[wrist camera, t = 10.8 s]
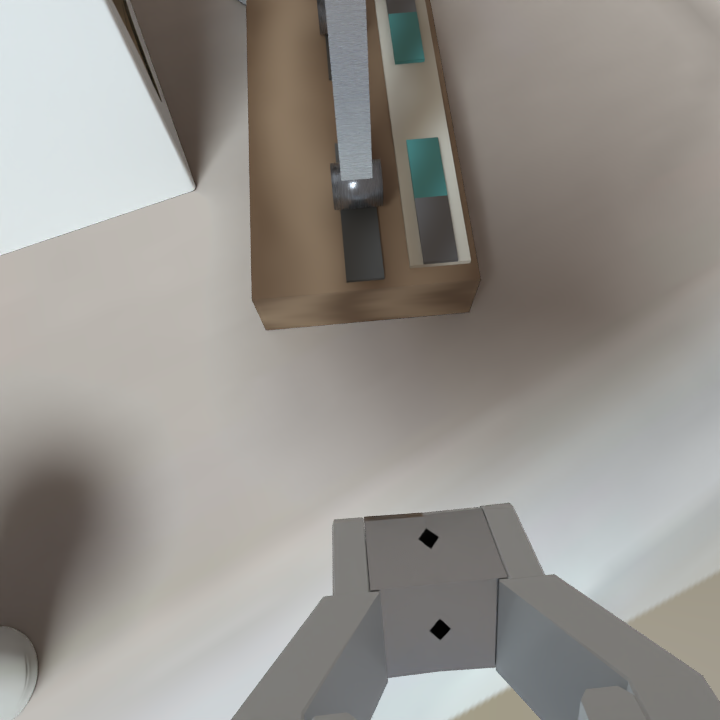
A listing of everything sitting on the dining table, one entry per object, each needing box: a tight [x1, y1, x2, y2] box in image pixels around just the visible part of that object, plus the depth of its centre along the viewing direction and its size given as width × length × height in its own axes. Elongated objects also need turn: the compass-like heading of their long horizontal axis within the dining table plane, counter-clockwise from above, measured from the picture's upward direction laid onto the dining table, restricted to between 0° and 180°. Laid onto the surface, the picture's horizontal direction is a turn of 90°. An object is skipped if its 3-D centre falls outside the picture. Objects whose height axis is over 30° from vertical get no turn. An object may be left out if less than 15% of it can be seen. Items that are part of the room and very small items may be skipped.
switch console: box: [246, 0, 481, 330], centre depth 35 cm, size 12×24×4 cm, turn 5°
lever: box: [325, 0, 383, 210], centre depth 25 cm, size 3×3×14 cm
